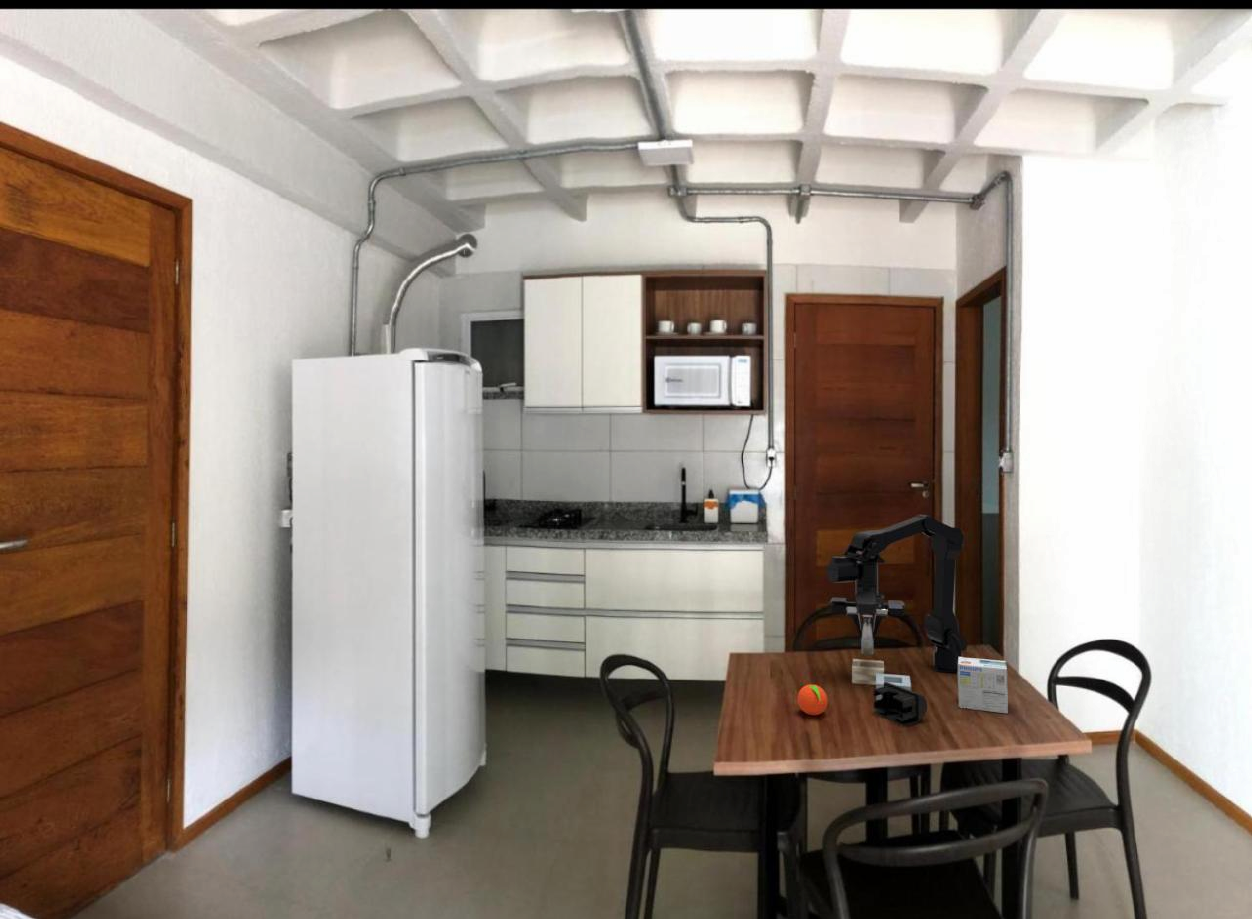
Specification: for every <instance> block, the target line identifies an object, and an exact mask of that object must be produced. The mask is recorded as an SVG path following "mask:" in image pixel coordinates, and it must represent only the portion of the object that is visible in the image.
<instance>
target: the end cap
mask: <svg viewBox="0 0 1252 919" xmlns="http://www.w3.org/2000/svg"><path fill="white" fill-rule="evenodd" d="M872 692H873V694H872V696H873V697H876V696H878V695H882V698H881V699H880V700H874V701H872V705H873V706H872V707H873V709H874V713H873V714H874V715H875V714H877V715H879V716H878V717H880V716H881V717H880V718H882V717H883V718H882V719H884V720H887V719H888V720H887V721H889V720H890V721H889V722H892V721H893V722H892V723H894V722H895V724H896V723H897V725H899V726H901V725H902V726H901V727H904V726H906V727H909V726H912V725H916V724H919V722H920V721H921V720H923V718H924V717H925V716H926V713H927V711H928V702H927V698H926V697H925V696H924V695H923V694H921V693H919V692H915V691H912V690H911V691H910V690H907V689H905V688H902V687H899V686H897V685H894V684H891V683H888V682H884V687H881V688H877V689H876V688H873V690H872ZM877 715H876V716H877Z"/></svg>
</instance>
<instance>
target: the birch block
mask: <svg viewBox="0 0 1252 919" xmlns="http://www.w3.org/2000/svg"><path fill="white" fill-rule="evenodd" d="M851 665H852V666H851V678H852V679H851V683H852V684H860V685H861V684H862V685H872V686H873V685H875V686H876V673H877V674H885V663H884V660H873V659H860V658H859V659H858V658H852V664H851Z"/></svg>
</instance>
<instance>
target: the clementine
mask: <svg viewBox="0 0 1252 919" xmlns="http://www.w3.org/2000/svg"><path fill="white" fill-rule="evenodd" d="M828 703H829V701H828V695H827V693H826V691H825V690H824V689H823V688H822V687H820V686H819V685H817V684H806V685H805V686H802V687H801V689H800V690H799V691H798V693H797V704H798V706H799V708H800V709H801V711H802V712H804V713H805V714H806V715H810V716H818V715H820V714H823V713H824V712H825V710H826V709H827V707H828Z"/></svg>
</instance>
